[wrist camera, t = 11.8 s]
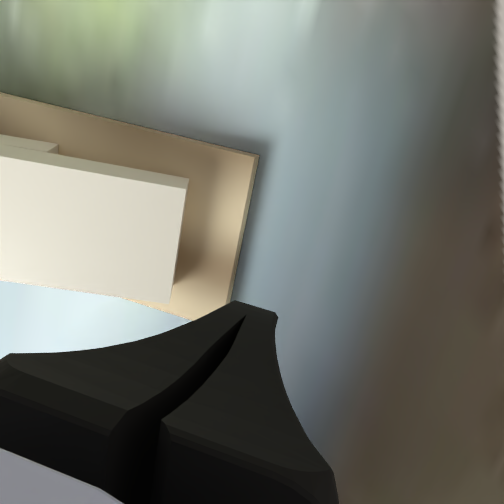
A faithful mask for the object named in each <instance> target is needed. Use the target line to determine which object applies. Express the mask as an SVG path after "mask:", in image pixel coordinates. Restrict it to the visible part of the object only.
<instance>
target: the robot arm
mask: <svg viewBox="0 0 504 504" xmlns="http://www.w3.org/2000/svg"><path fill="white" fill-rule="evenodd" d="M277 320H278V316H277V315H276V313H275V312H272V311H269V310H265V309H262V308H259V307H255V306H252V305H249V304H245V303H242V302H239V301H235V300H234V301H232V302H230V303H228V304H226V305H224V306H222V307H220V308H218V309H216V310H215V311H213V312H211V313H209V314H207V315H205V316H202V317H200V318H198V319H196V320H194V321H192V322H189V323H187V324H184V325H182V326H180V327H177V328H175V329H172V330H170V331H167V332H164V333H161V334H158V335H155V336H152V337H148V338H145V339H141V340H138V341H134V342H129V343H124V344H119V345H114V346H109V347H103V348H97V349H89V350H81V351H70V352H57V353H10V354H8V355H6V356H5V357H3V358H2V359H0V504H339V501H338V494H337V489H336V483H335V478H334V473H333V471H332V469H331V468H330V466H329V465H328V464H327V462H326V461H325V460H324V459H323V457H322V456H321V455H320V453H319V452H318V451H317V450H316V448H315V447H314V446H313V444H312V443H311V442H310V440H309V438H308V437H307V435H306V433H305V432H304V430H303V428H302V426H301V424H300V422H299V420H298V418H297V416H296V414H295V412H294V410H293V408H292V406H291V403H290V401H289V398H288V396H287V393H286V390H285V387H284V384H283V381H282V378H281V374H280V370H279V365H278V360H277V354H276V345H275V328H276V324H277Z"/></svg>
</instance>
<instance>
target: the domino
mask: <svg viewBox="0 0 504 504" xmlns="http://www.w3.org/2000/svg"><path fill="white" fill-rule="evenodd" d="M188 184H189V178H184V177H179V176H173V175H168V174H162V173H157V172H151V171H146V170H140V169H135V168H129V167H124V166H118V165H113V164H107V163H102V162H96V161H91V160H85V159H80V158H74V157H69V156H63V155H58V154H52V153H47V152H41V151H36V150H30V149H25V148H19V147H14V146H8V145H3V144H0V280H1V281H8V282H15V283H22V284H29V285H36V286H43V287H50V288H57V289H65V290H72V291H79V292H86V293H93V294H100V295H107V296H114V297H121V298H128V299H136V300H143V301H150V302H157V303H164V304H169V303H170V298H171V294H172V289H173V285H174V278H175V271H176V265H177V258H178V251H179V245H180V238H181V231H182V225H183V218H184V211H185V204H186V198H187V191H188Z"/></svg>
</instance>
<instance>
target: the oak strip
mask: <svg viewBox="0 0 504 504" xmlns="http://www.w3.org/2000/svg"><path fill="white" fill-rule="evenodd" d="M0 134H2V135H8V136H14V137H20V138H26V139H32V140H38V141H44V142H50V143H56V144H58V155H63V156H69V157H74V158H80V159H85V160H91V161H96V162H102V163H107V164H113V165H118V166H124V167H129V168H135V169H140V170H146V171H151V172H157V173H162V174H168V175H173V176H179V177H184V178H189V184H188V191H187V198H186V204H185V211H184V218H183V225H182V231H181V238H180V245H179V251H178V258H177V265H176V271H175V278H174V285H173V289H172V294H171V298H170V303H169V304H164V303H157V302H150V301H143V300H136V299H128V298H124V299H127V300H130V301H133V302H136V303H139V304H142V305H145V306H148V307H151V308H155V309H158V310H161V311H164V312H167V313H170V314H173V315H176V316H179V317H183V318H186V319H189V320H192V321H194V320H196V319H198V318H200V317H202V316H205V315H207V314H209V313H211V312H213V311H215V310H216V309H218V308H220V307H222V306H224V305H226V304H228V303H230V300H231V295H232V290H233V285H234V280H235V275H236V270H237V265H238V260H239V255H240V250H241V245H242V240H243V235H244V230H245V225H246V220H247V215H248V210H249V205H250V200H251V195H252V190H253V185H254V180H255V175H256V170H257V165H258V160H259V155H257V154H252V153H248V152H244V151H240V150H236V149H232V148H228V147H224V146H220V145H215V144H211V143H207V142H203V141H199V140H195V139H191V138H187V137H182V136H178V135H174V134H170V133H166V132H162V131H158V130H154V129H150V128H145V127H141V126H137V125H133V124H129V123H125V122H121V121H117V120H113V119H108V118H104V117H100V116H96V115H92V114H88V113H84V112H80V111H76V110H71V109H67V108H63V107H59V106H55V105H51V104H47V103H43V102H38V101H34V100H30V99H26V98H22V97H18V96H14V95H10V94H6V93H1V92H0ZM120 298H121V297H120Z"/></svg>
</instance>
